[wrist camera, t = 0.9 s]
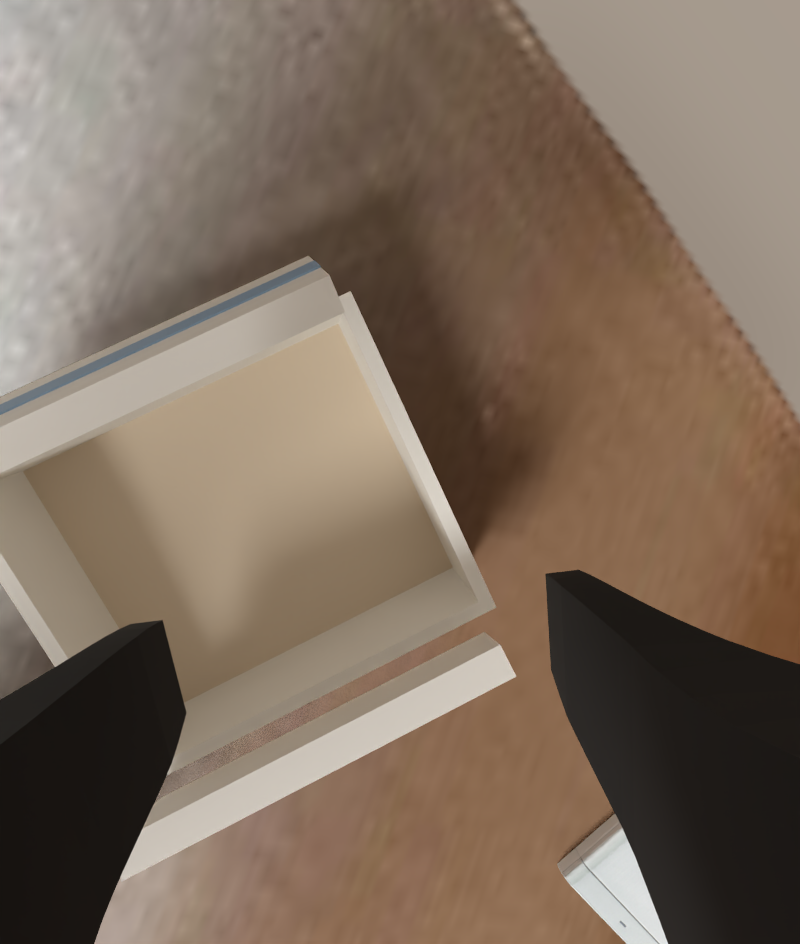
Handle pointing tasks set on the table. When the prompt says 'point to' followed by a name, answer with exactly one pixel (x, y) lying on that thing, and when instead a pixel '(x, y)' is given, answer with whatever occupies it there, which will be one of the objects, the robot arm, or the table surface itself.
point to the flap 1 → (164, 359)
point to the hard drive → (614, 884)
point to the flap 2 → (318, 749)
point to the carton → (246, 533)
